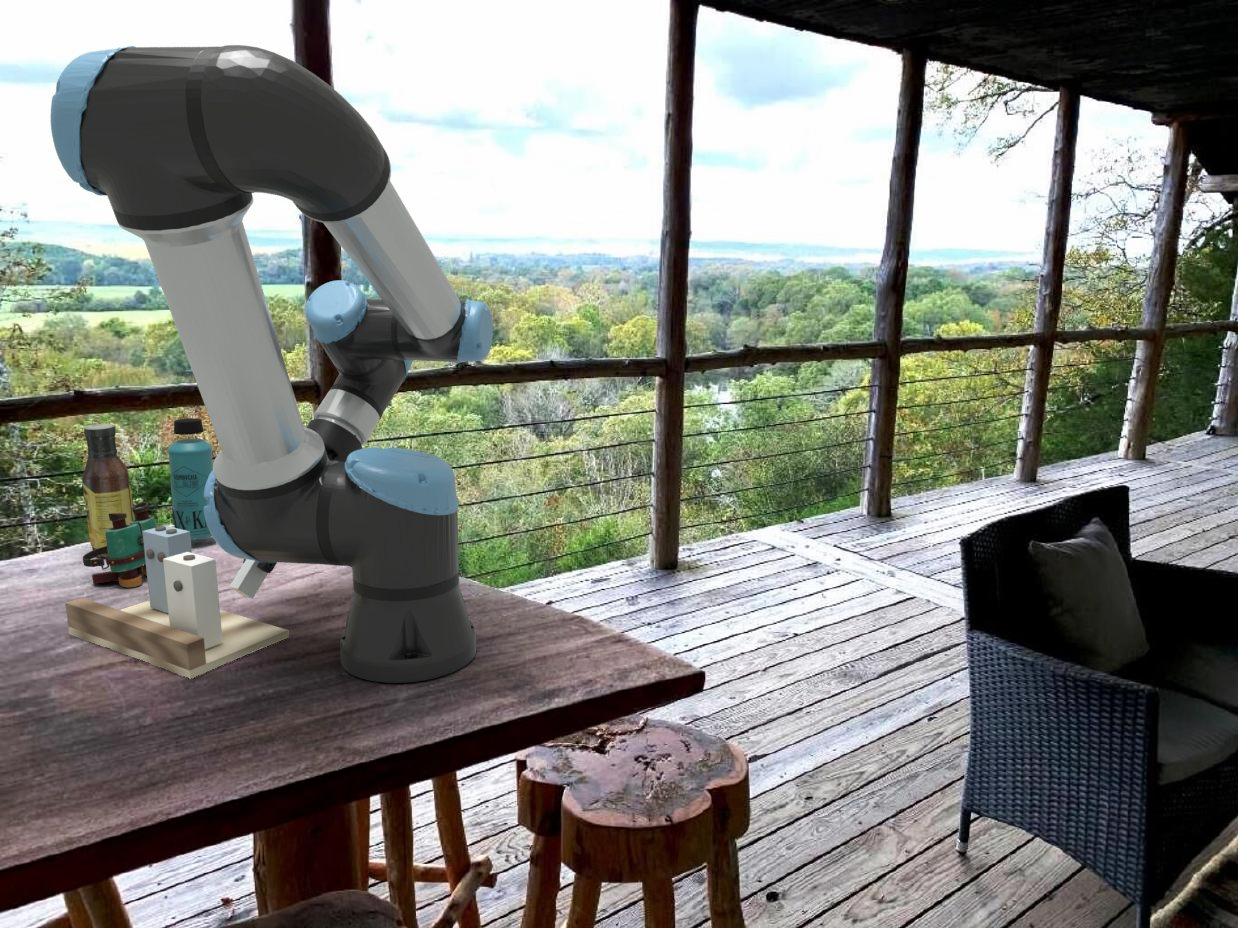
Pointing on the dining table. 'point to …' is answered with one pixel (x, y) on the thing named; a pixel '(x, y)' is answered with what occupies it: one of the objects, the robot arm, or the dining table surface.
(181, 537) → the tile two
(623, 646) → the dining table surface
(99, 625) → the holder
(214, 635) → the tile one
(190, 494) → the beverage bottle
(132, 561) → the binoculars
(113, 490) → the sauce bottle
